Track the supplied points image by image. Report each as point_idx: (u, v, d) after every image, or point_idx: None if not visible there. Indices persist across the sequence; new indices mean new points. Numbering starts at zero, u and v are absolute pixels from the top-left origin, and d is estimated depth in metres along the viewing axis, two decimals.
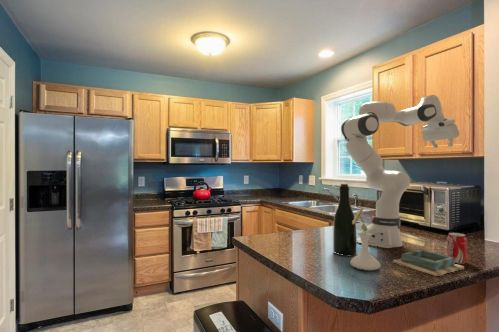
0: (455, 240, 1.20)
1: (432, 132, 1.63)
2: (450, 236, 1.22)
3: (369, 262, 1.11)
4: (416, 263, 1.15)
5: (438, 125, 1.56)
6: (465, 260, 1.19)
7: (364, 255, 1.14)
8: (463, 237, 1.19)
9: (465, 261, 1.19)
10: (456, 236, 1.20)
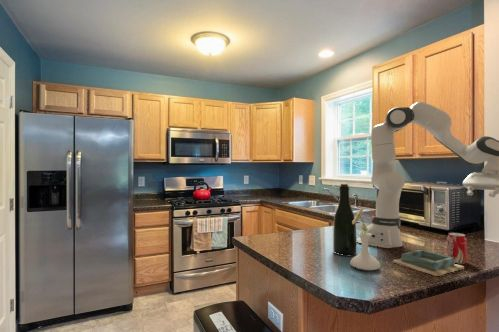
0: (455, 240, 1.20)
1: (482, 177, 1.30)
2: (450, 236, 1.22)
3: (369, 262, 1.11)
4: (416, 263, 1.15)
5: None
6: (465, 260, 1.19)
7: (364, 255, 1.14)
8: (463, 237, 1.19)
9: (465, 261, 1.19)
10: (456, 236, 1.20)
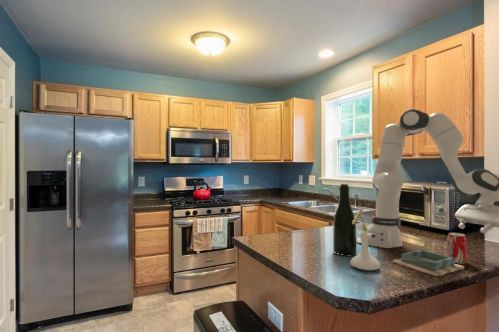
0: (455, 240, 1.20)
1: (474, 210, 1.28)
2: (450, 236, 1.22)
3: (369, 262, 1.11)
4: (416, 263, 1.15)
5: (492, 203, 1.22)
6: (465, 260, 1.19)
7: (364, 255, 1.14)
8: (463, 237, 1.19)
9: (465, 261, 1.19)
10: (456, 236, 1.20)
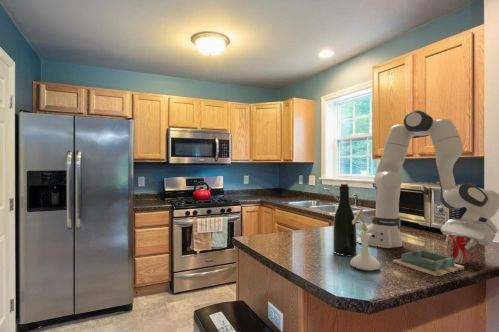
0: (455, 240, 1.20)
1: (460, 225, 1.26)
2: (450, 236, 1.22)
3: (369, 262, 1.11)
4: (416, 263, 1.15)
5: (477, 219, 1.20)
6: (465, 260, 1.19)
7: (364, 255, 1.14)
8: (463, 237, 1.19)
9: (465, 261, 1.19)
10: (456, 236, 1.20)
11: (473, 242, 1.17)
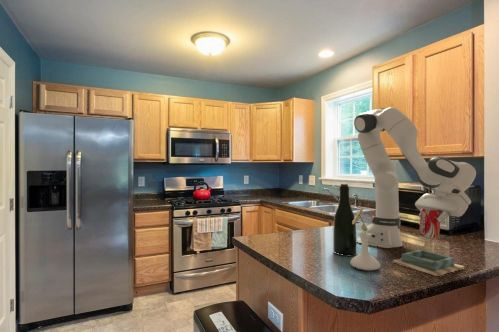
0: (428, 214, 1.16)
1: (434, 199, 1.22)
2: (423, 210, 1.18)
3: (369, 262, 1.11)
4: (416, 263, 1.15)
5: (451, 191, 1.16)
6: (437, 235, 1.15)
7: (364, 255, 1.14)
8: (436, 211, 1.15)
9: (436, 236, 1.15)
10: (429, 210, 1.16)
11: (445, 214, 1.13)
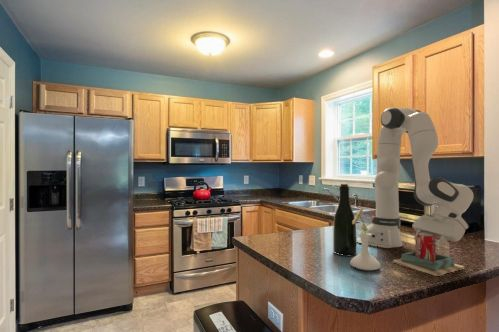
0: (422, 240, 1.15)
1: (431, 221, 1.21)
2: (418, 236, 1.18)
3: (369, 262, 1.11)
4: (416, 263, 1.15)
5: (448, 214, 1.15)
6: (433, 261, 1.14)
7: (364, 255, 1.14)
8: (431, 237, 1.15)
9: None
10: (424, 236, 1.16)
11: (444, 239, 1.12)
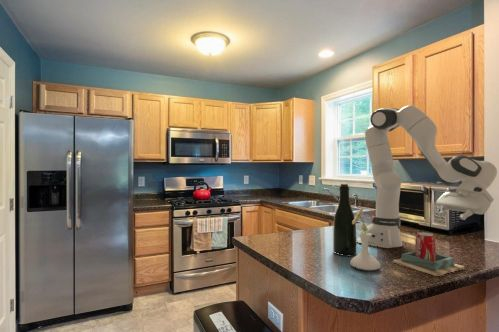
0: (422, 240, 1.15)
1: (455, 197, 1.24)
2: (418, 236, 1.18)
3: (369, 262, 1.11)
4: (416, 263, 1.15)
5: (473, 189, 1.18)
6: (433, 261, 1.14)
7: (364, 255, 1.14)
8: (431, 237, 1.15)
9: None
10: (424, 236, 1.16)
11: (470, 212, 1.15)
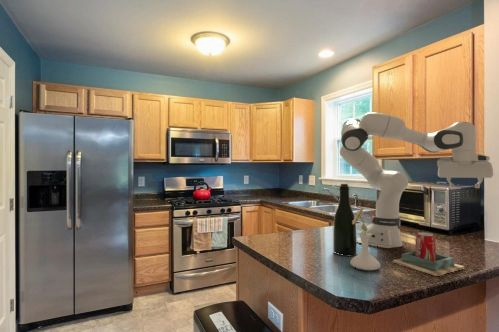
0: (422, 240, 1.15)
1: (457, 167, 1.31)
2: (418, 236, 1.18)
3: (369, 262, 1.11)
4: (416, 263, 1.15)
5: (477, 158, 1.26)
6: (433, 261, 1.14)
7: (364, 255, 1.14)
8: (431, 237, 1.15)
9: None
10: (424, 236, 1.16)
11: None
